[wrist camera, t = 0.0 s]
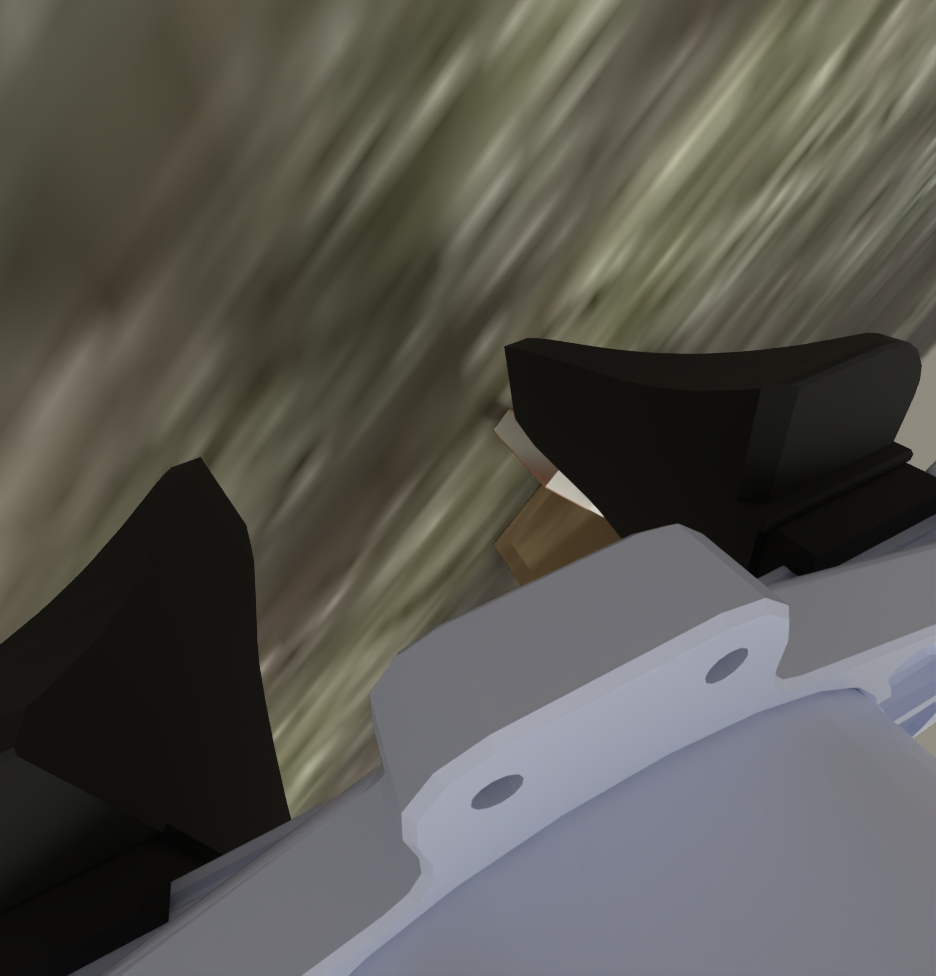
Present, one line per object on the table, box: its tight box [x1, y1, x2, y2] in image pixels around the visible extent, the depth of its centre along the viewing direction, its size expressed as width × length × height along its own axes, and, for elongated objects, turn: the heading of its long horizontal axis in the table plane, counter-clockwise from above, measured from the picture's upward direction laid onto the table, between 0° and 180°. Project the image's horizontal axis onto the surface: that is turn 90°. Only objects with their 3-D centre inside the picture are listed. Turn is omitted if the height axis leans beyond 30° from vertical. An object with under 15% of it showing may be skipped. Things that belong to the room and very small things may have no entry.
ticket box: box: [494, 352, 648, 586], centre depth 29 cm, size 15×14×8 cm
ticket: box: [493, 409, 604, 517], centre depth 27 cm, size 19×1×5 cm, turn 51°
